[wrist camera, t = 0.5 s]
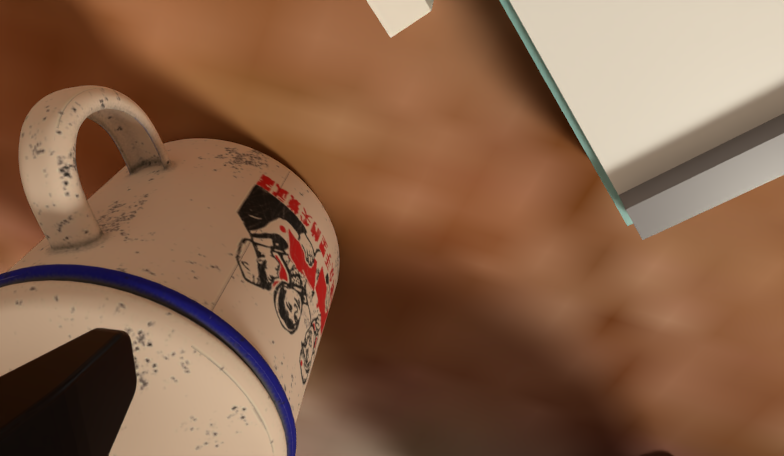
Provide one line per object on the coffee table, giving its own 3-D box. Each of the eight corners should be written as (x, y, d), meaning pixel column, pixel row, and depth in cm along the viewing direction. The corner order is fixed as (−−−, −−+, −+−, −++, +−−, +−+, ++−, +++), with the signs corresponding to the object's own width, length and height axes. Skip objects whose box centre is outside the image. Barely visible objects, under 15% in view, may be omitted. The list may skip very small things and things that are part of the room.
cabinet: (793, 65, 19) (900, 129, 14) (599, 165, 21) (638, 249, 16) (685, -210, 16) (775, -240, 11) (471, -61, 18) (476, -36, 13)
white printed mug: (370, 333, 25) (307, 659, 15) (153, 351, 26) (-40, 657, 16) (292, 15, 19) (100, 187, 9) (21, 62, 20) (-405, 253, 10)
